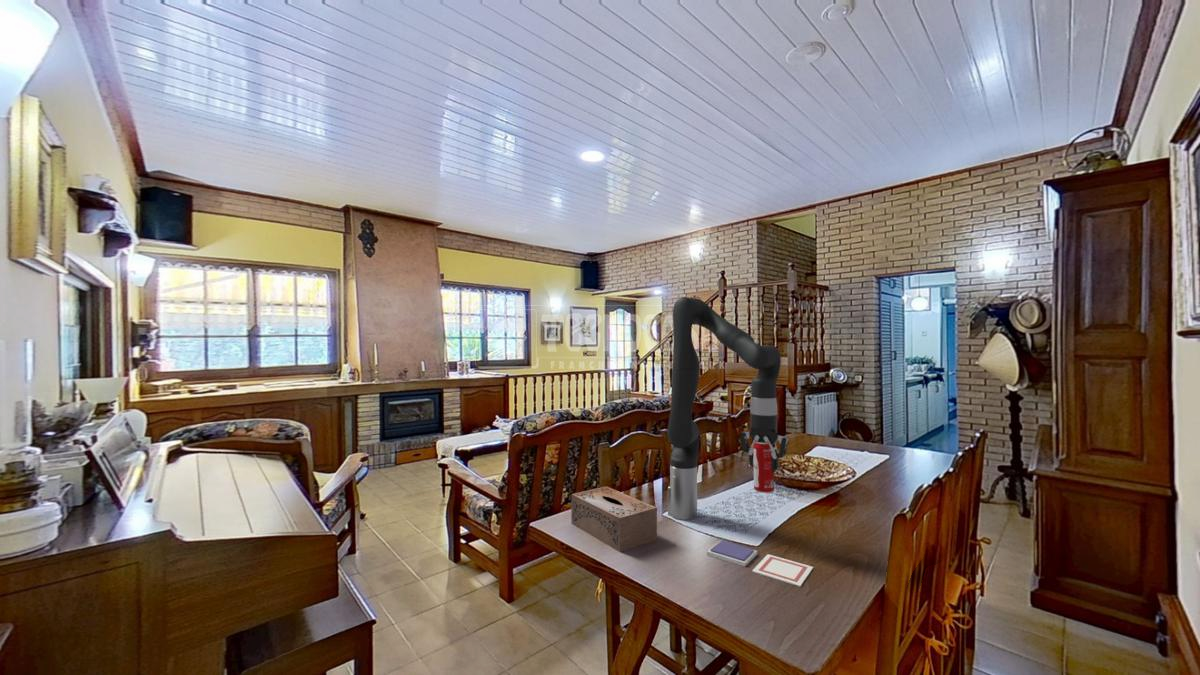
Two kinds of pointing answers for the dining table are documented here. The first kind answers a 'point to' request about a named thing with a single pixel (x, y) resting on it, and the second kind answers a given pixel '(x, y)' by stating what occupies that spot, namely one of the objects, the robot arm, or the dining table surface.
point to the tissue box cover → (614, 518)
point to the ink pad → (732, 553)
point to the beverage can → (763, 468)
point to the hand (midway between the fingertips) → (763, 468)
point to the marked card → (783, 570)
